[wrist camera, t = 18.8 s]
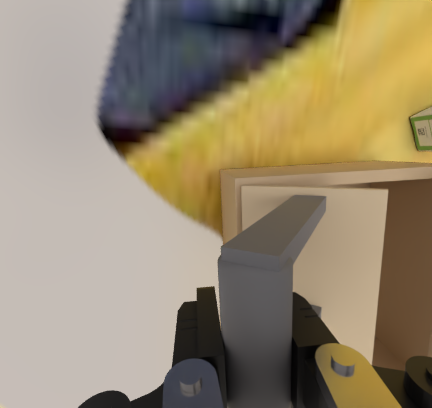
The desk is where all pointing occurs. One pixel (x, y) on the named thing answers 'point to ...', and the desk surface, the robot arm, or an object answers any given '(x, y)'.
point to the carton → (392, 246)
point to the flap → (296, 281)
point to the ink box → (423, 129)
